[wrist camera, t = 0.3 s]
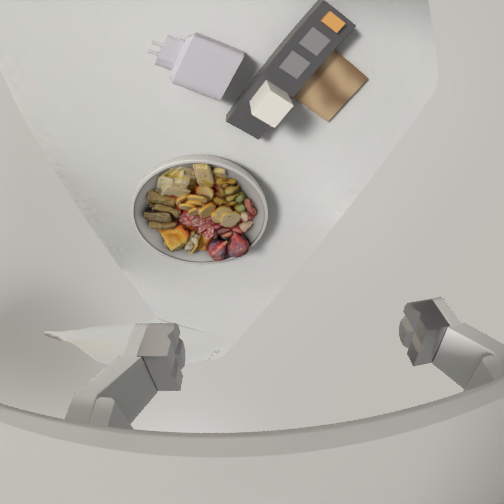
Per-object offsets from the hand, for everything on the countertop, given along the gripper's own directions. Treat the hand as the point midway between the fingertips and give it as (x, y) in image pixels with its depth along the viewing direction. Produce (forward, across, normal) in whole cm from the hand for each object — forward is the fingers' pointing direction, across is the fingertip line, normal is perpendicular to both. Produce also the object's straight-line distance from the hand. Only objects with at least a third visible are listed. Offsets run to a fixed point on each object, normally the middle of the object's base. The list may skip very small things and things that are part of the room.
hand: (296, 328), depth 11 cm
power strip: (+50, -7, -11) cm, 52 cm away
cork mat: (+51, -15, -8) cm, 54 cm away
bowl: (+60, +13, +18) cm, 64 cm away
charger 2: (+50, -3, -6) cm, 51 cm away
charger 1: (+49, +9, -14) cm, 52 cm away
